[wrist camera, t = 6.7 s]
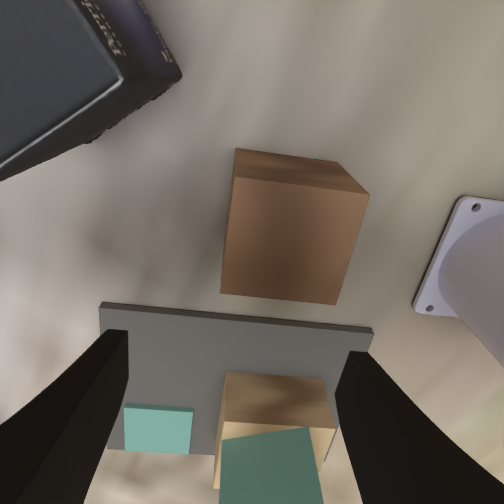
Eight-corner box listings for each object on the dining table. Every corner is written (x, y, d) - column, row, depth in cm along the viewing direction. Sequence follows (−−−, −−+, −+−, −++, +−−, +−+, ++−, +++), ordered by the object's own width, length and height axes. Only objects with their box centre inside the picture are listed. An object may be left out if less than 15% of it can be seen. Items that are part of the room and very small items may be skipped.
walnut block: (336, 162, 19) (369, 194, 14) (314, 251, 22) (335, 305, 17) (235, 147, 19) (234, 176, 14) (224, 241, 21) (219, 293, 16)
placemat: (371, 328, 25) (374, 334, 24) (323, 454, 31) (324, 461, 30) (101, 302, 23) (98, 307, 22) (109, 441, 29) (107, 448, 29)
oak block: (322, 379, 26) (335, 428, 22) (302, 441, 29) (311, 493, 25) (226, 371, 25) (224, 421, 22) (216, 435, 28) (213, 488, 25)
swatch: (193, 407, 27) (193, 412, 26) (189, 449, 29) (188, 454, 29) (125, 403, 26) (123, 407, 26) (126, 446, 29) (124, 450, 28)
